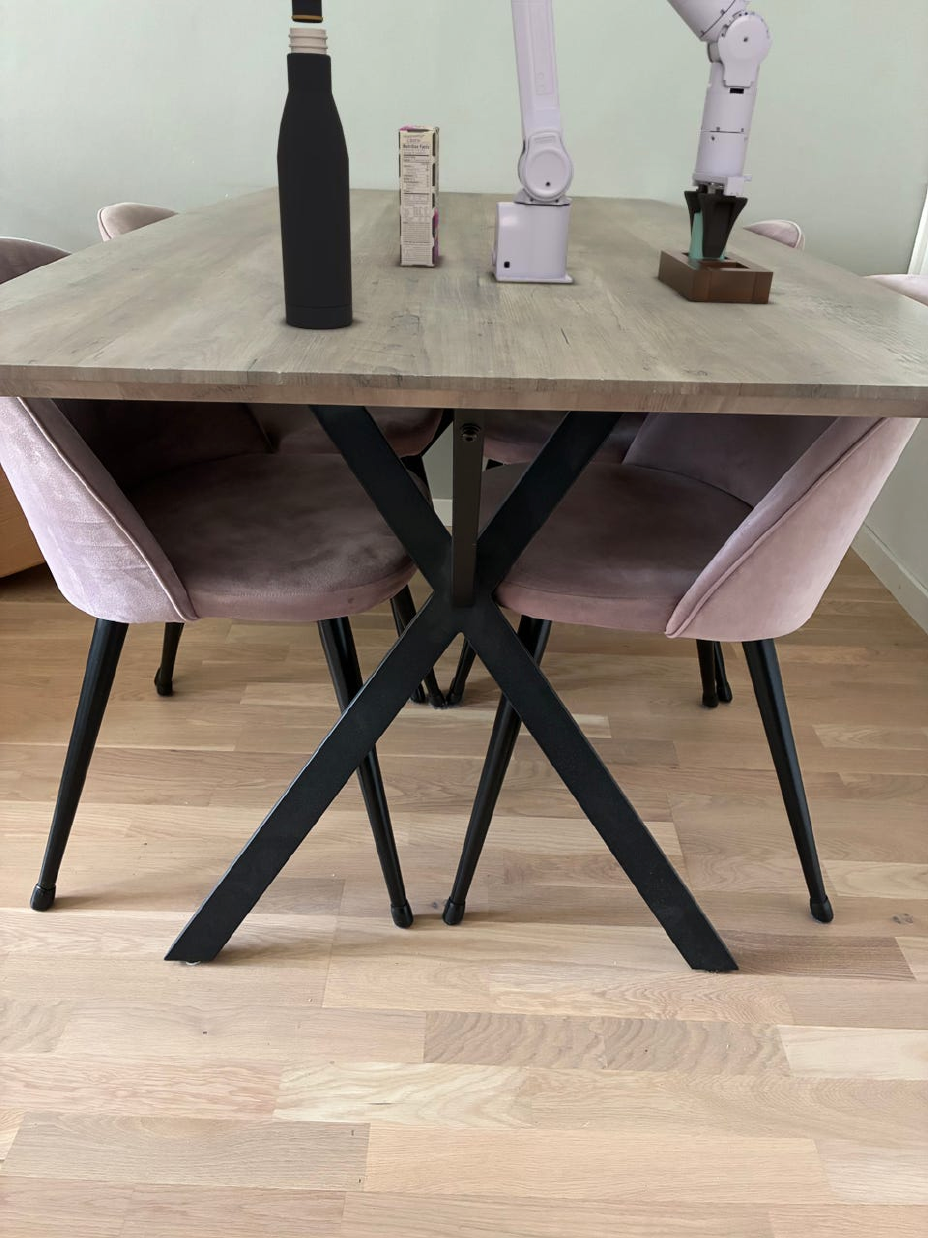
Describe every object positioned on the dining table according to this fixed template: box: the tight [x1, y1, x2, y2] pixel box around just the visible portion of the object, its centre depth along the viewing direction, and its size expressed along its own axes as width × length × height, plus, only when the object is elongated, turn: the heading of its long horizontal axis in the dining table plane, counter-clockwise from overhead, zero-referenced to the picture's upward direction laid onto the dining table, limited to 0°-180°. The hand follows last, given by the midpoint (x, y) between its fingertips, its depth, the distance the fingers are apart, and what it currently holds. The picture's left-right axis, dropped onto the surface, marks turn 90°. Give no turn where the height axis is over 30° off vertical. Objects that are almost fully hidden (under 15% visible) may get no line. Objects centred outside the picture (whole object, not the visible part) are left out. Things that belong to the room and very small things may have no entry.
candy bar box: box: [397, 125, 440, 268], centre depth 123 cm, size 11×5×16 cm, turn 179°
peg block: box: [657, 249, 774, 304], centre depth 114 cm, size 9×16×4 cm, turn 3°
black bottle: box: [276, 0, 353, 330], centre depth 82 cm, size 6×6×30 cm
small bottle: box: [688, 187, 728, 259], centre depth 114 cm, size 4×4×10 cm
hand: (705, 254), depth 116 cm, fingers closed on small bottle, 4 cm apart
